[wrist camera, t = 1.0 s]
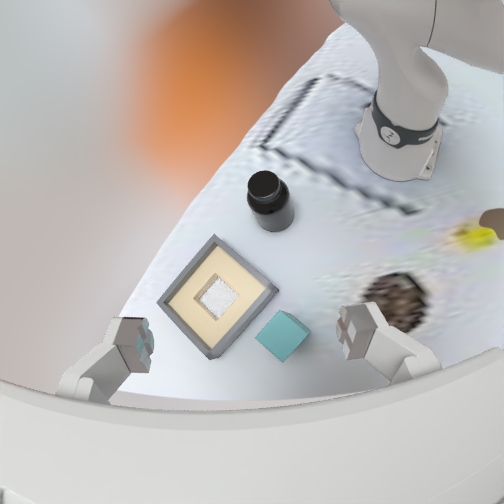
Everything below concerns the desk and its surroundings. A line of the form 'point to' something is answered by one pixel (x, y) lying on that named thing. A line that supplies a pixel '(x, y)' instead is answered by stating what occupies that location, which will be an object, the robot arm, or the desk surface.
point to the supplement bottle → (270, 201)
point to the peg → (282, 335)
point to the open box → (195, 285)
